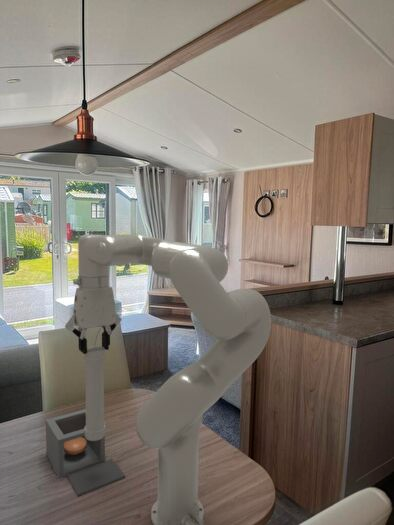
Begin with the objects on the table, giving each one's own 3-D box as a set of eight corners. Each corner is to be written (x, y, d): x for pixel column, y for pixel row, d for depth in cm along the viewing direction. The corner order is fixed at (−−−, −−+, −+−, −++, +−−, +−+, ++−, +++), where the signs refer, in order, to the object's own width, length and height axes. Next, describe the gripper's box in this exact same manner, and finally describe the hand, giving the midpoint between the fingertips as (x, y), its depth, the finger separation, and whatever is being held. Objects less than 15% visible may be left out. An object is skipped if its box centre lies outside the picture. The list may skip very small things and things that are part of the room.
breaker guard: (104, 462, 111) (104, 426, 110) (59, 478, 104) (58, 440, 103) (89, 441, 122) (88, 408, 121) (46, 454, 114) (45, 419, 113)
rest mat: (125, 477, 105) (125, 475, 105) (77, 496, 97) (77, 494, 97) (112, 460, 112) (112, 458, 112) (67, 477, 105) (67, 475, 104)
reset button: (89, 454, 112) (89, 444, 112) (67, 462, 108) (67, 452, 108) (82, 443, 117) (82, 434, 117) (60, 450, 113) (60, 441, 113)
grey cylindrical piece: (79, 438, 102) (79, 328, 99) (96, 427, 108) (95, 322, 105) (95, 444, 100) (95, 331, 97) (111, 432, 105) (111, 325, 102)
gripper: (64, 287, 91) (66, 361, 93) (130, 281, 101) (130, 348, 103) (55, 283, 97) (57, 352, 99) (118, 278, 107) (118, 341, 109)
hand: (94, 349), depth 101 cm, fingers closed on grey cylindrical piece, 5 cm apart
